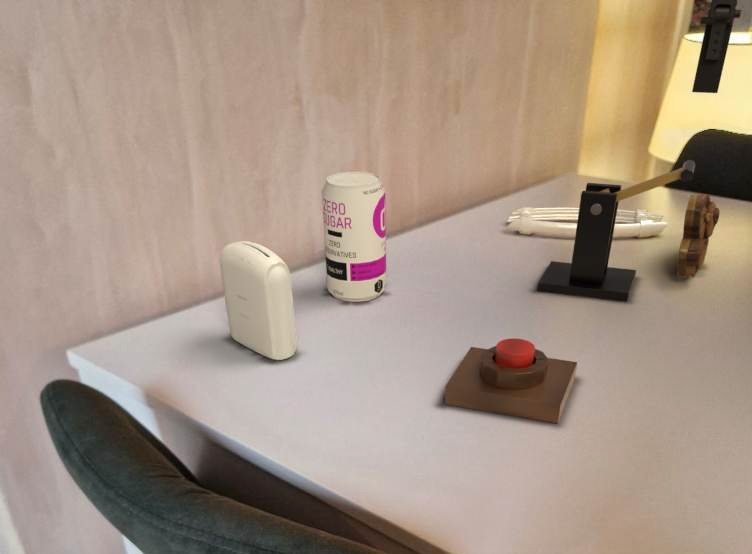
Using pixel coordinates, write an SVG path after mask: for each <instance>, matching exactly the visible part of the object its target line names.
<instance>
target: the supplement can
mask: <svg viewBox="0 0 752 554" xmlns="http://www.w3.org/2000/svg"><path fill="white" fill-rule="evenodd" d="M321 202H322V217H323V218H322V219H323V232H324V233H323V237H324V253H325V254H324V255H325V256H324V257H325V272H326V287H327V288H326V289H327V291H328V292H329V294H331V295H332V296H333V297H334V298H335V299H337V300H340V301H345V302H349V303H350V302H352V303H353V302H358V303H359V302H367V301H370V300H374V299H377V298H378V297H380V296H381V294H382V293H383V292H385V290H386V288H387V220H386V218H387V217H386V216H387V215H386V213H387V212H386V211H387V210H386V209H387V208H386V202H387V201H386V189H385V187H384V185H383V184H382V181H381V177H380V175H378V174H376V173H372V172H366V171H346V172H345V171H344V172H339V173H334V174H331V175H329V176H327V177H326V178H325V183H324V186H323V188H322V190H321Z"/></svg>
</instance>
